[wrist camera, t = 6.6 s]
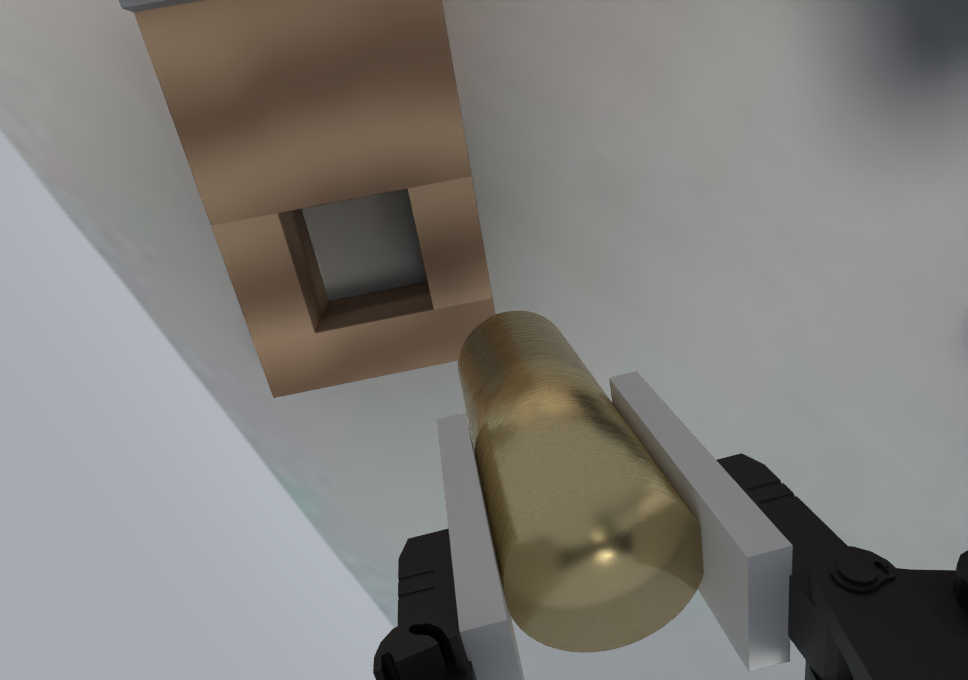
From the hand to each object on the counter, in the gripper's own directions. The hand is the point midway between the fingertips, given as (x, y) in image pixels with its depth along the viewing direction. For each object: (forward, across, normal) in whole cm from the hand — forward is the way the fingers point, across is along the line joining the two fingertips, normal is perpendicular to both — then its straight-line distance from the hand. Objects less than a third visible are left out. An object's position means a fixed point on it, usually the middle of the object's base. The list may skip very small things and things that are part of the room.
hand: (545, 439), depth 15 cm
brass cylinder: (+5, 0, 0) cm, 5 cm away
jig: (+19, -5, +7) cm, 21 cm away
